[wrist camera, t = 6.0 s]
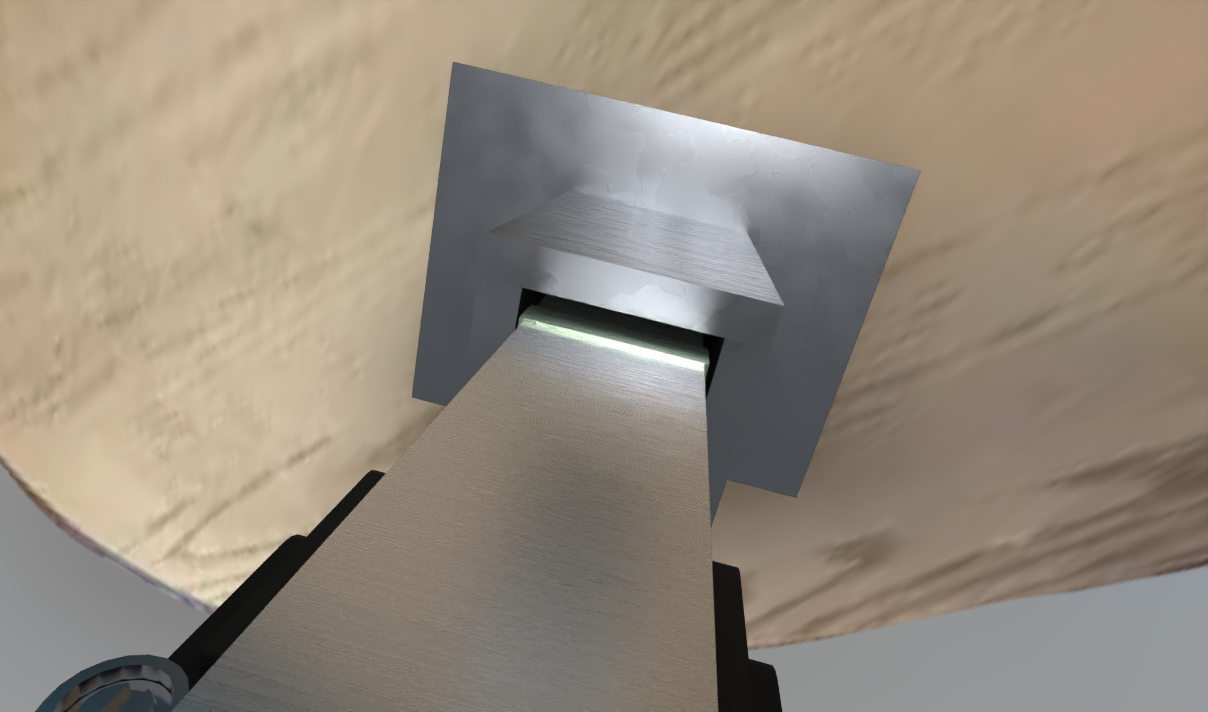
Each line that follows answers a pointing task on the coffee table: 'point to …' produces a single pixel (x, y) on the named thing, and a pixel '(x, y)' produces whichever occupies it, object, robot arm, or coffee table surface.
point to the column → (515, 546)
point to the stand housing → (659, 252)
